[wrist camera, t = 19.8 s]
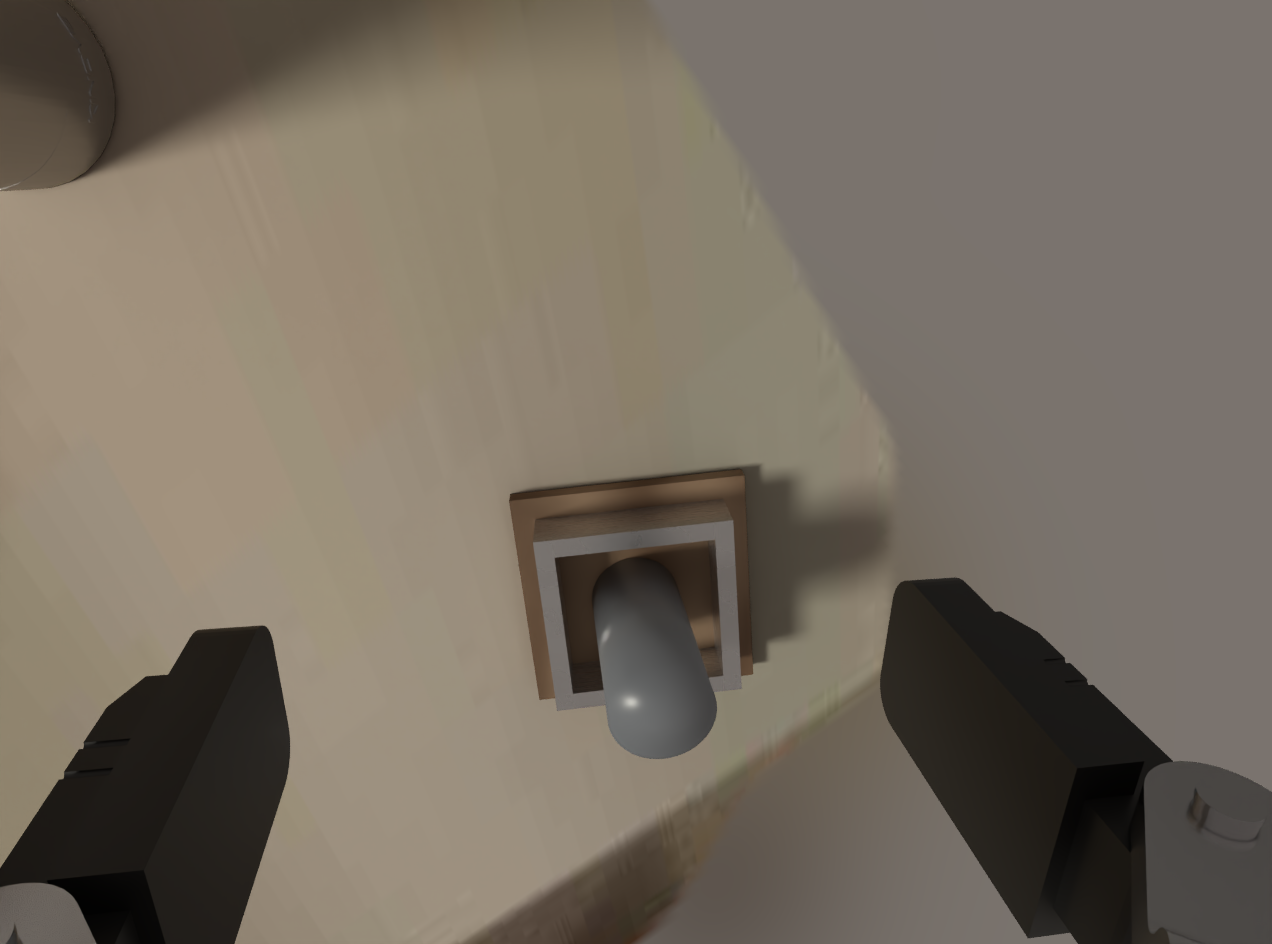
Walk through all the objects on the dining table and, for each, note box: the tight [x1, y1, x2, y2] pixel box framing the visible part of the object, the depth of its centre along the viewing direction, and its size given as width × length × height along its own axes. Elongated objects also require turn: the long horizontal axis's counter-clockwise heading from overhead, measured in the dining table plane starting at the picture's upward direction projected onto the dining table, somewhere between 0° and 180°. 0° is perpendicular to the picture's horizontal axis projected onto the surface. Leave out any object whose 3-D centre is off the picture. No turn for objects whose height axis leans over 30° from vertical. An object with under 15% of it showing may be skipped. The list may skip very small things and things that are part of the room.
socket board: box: [509, 469, 753, 700], centre depth 48 cm, size 13×13×1 cm
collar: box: [533, 499, 742, 711], centre depth 46 cm, size 10×10×3 cm
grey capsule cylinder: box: [592, 558, 717, 759], centre depth 43 cm, size 5×5×11 cm
